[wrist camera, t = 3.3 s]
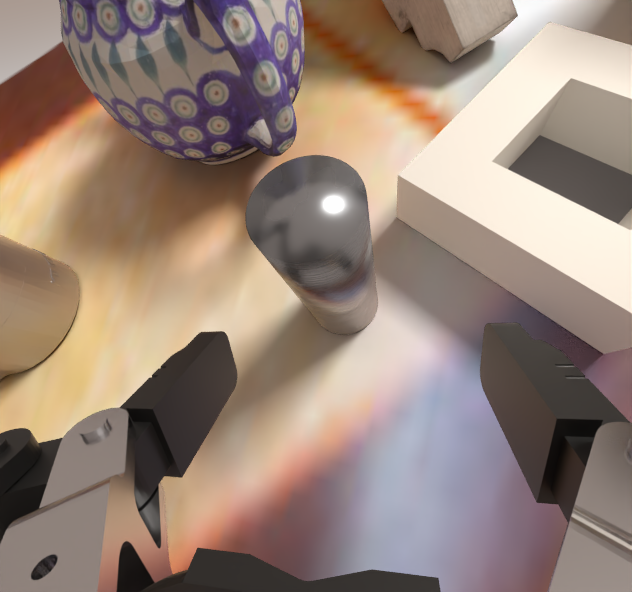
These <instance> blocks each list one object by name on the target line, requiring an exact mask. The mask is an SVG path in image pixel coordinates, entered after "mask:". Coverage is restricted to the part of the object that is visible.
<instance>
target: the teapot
mask: <svg viewBox="0 0 632 592" xmlns="http://www.w3.org/2000/svg"><path fill="white" fill-rule="evenodd" d="M59 2H60V9H61V34H62V38H63V43H64V44H65V46H66V48H67V50H68V52H69V54H70V56H71V58H72V60H73V62H74V64H75V66H76V68H77V70H78V72H79V74H80V76H81V77H82V79H83V81H84V82H85V84H86V85H87V86H88V88H89V89H90V90H91V92H92V93H93V94H94V96H95V97H96V98H97V100H98V101H99V102H100V104H101V105H102V106H103V107H104V108H105V110H106V111H107V112H108V113H109V114H110V115H111V116H112V117H113V118H114V119H115V120H116V121H117V122H118V123H119V124H120V125H121V126H122V127H123V128H125V129H126V130H127V131H128V132H130V133H131V134H132V135H133V136H135V137H137V138H138V139H140V140H141V141H143V142H144V143H146V144H148V145H149V146H151V147H153V148H154V149H156V150H158V151H160V152H162V153H164V154H167V155H170V156H172V157H175V158H177V159H185V160H195V161H199V162H202V163H204V164H210V165H217V164H224V163H228V162H232V161H235V160H237V159H240V158H242V157H245V156H247V155H249V154H251V153H252V152H254V151H256V150H258V149H259V150H260V151H262V152H263V153H264V154H266V155H269V156H279V155H281V154H282V153H284V152H285V151H286V150H287V149H288V148H289V147H290V146H291V145H292V143H293V142H294V140H295V136H296V131H297V126H296V118H295V113H294V109H293V105H292V104H293V102H294V100H295V98H296V96H297V93H298V91H299V88H300V83H301V78H302V73H303V67H304V53H305V48H304V21H303V13H302V7H301V3H300V0H59Z"/></svg>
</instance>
